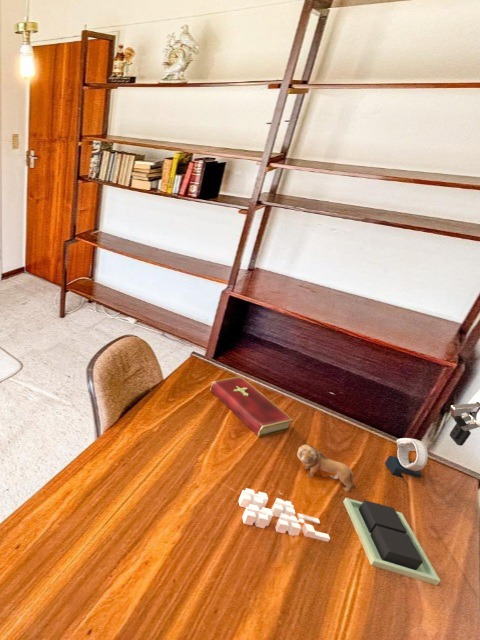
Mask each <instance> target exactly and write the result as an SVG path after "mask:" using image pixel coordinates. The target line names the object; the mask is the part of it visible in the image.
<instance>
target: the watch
mask: <svg viewBox="0 0 480 640" xmlns="http://www.w3.org/2000/svg"><path fill="white" fill-rule="evenodd" d="M396 443H397V444H396V448H397V456H393V455H388V458H387V459H386V461H385V462H384V465H385V467H386V469H387V470H388V471H389V472H390V475H392V476H395V477H398V478H402V479H405V477H404V475H408V476H410V477H411V476H412V477H414V478H418V479H421V477H422V476H423V474H422V473H421V470H423V469H424V468H425V466H426V465H427V463H428V459H429V457H428V455H429V453H428V448H427V447H426V445H425V443H424V442H422V441H421V440H419V439H416V438H411V437H402V438H398V439H396ZM410 451H411V452H413V451H415V452H416V458H415V460H414V461H411V460H410V459H409V454H410ZM402 474H404V475H402Z"/></svg>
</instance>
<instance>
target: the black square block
mask: <svg viewBox="0 0 480 640" xmlns="http://www.w3.org/2000/svg"><path fill="white" fill-rule="evenodd" d="M362 502H363V503H362V505H361V506H360V508H359V512H360V514H361V516H362V518H363V520H364V522H365V524H366V527H367V529H368V531H369V533H372V532H373V530H374V529H375V527H376V526H380V527H384V528H387V529H391V530H394V531H398V532H401V533H405V534H406V533H407V531H406V529H405V527H404V525H403V523H402V522H401V520H400V518H399V516H398V514H397V513H396V512H397V511H396V509H395V508H394V507H392V506H388V505H384V504H381V503H377V502H373V501H370V500H366V499H364V500H363V501H362Z"/></svg>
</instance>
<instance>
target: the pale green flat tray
mask: <svg viewBox="0 0 480 640" xmlns="http://www.w3.org/2000/svg"><path fill="white" fill-rule="evenodd" d="M362 503H363V501H361V500H360V501H359V500H356V499H352V498H349V497H345V498H344V499H343V505H344V507H345V509H346V512H347V514H348V516H349V519H350V521H351V523H352V526H353V527H354V530H355V532H356V534H357V537H358V539H359V541H360V543H361V546H362V548H363V550H364V553H365V555H366V557H367V559H368V562H369V565H370V566H372V567H376V568H379V569H383V570H386V571H389V572H391V573H395V574H398V575H402V576H404V577H409V578H412V579H414V580H418V581H421V582H424V583H428V584H430V585H434V586H438V585H439V584H440V583H441V578H440V577H439V576H438V573H437V572H436V570H435V569H434V567H433V564H432V563H431V561H430V560H429V557H427V555H426V553H425V551H424V549H423V547H422V546H421V544H420V542H419V541H418V539H417V537H416V535H415V534H414V531H413V530H412V528H411V527H410V525H409V523H408V521H407V520H406V517H405V516H404V513H403V512H400V511H396V513H397V514H398V516H399V518H400V520H401V522H402V523H403V525H404V527H405V529H406V531H407V533H406V534H408V535H409V537H410V539H411V540H412V542H413V544H414V546H415V548H416V549H417V551H418V553H419V555H420V557H421V558H422V560H423V563H422V564H421V565H420V566H419V568H418V569H417V570H413V569H409V568H406V567H403V566H400V565H396V564H393V563H390V562H386V561H383V560H382V559H381V557H380V555H379V553H378V551H377V549H376V546H375V544H374V542H373V540H372V538H371V536H370V535H371V533H369V531H368V529H367V527H366V524H365V522H364V520H363V518H362V516H361V514H360V512H359V508H360V506H361V505H362Z"/></svg>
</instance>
